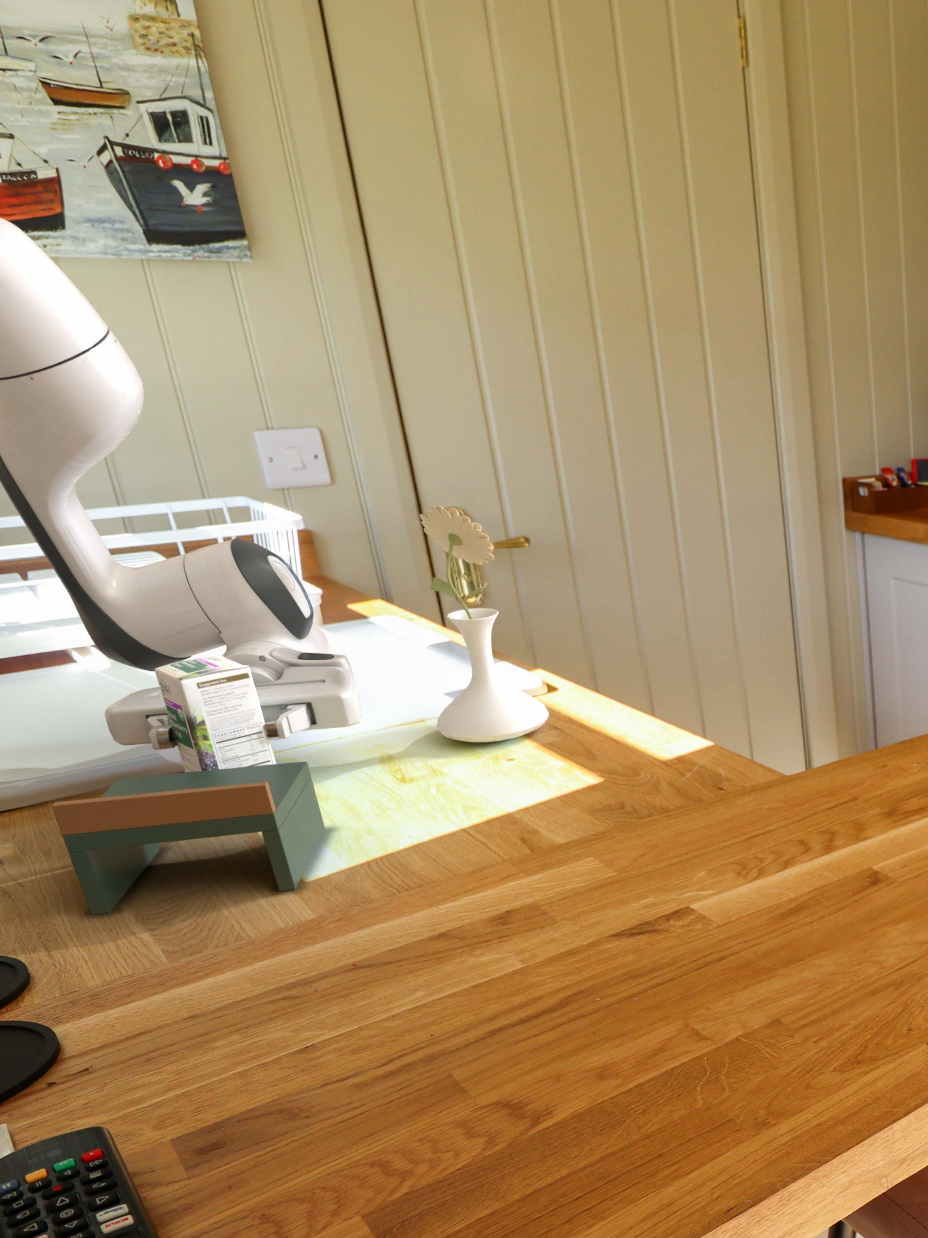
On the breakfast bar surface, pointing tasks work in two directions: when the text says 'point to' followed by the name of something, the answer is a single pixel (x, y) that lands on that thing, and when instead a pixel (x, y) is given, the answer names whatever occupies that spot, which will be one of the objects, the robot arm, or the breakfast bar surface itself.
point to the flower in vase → (477, 646)
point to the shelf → (189, 823)
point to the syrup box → (214, 714)
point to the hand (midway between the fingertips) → (219, 736)
